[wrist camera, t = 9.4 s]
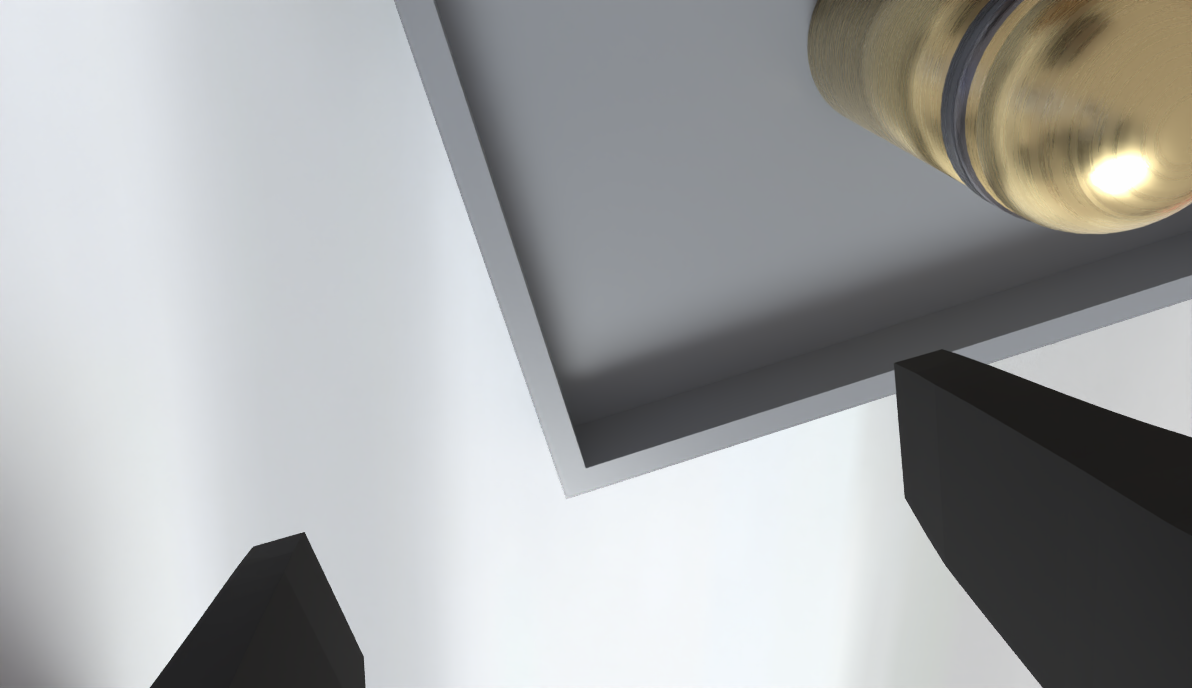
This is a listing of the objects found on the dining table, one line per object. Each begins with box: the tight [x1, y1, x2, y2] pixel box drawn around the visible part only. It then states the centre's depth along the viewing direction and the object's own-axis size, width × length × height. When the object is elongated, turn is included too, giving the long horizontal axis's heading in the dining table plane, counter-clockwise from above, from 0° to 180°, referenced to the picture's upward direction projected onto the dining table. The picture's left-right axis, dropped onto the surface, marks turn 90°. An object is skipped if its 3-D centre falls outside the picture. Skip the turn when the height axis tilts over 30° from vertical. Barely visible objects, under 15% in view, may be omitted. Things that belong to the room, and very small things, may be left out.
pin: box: [807, 0, 1192, 234], centre depth 15 cm, size 4×4×8 cm
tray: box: [394, 0, 1192, 499], centre depth 18 cm, size 18×14×2 cm
